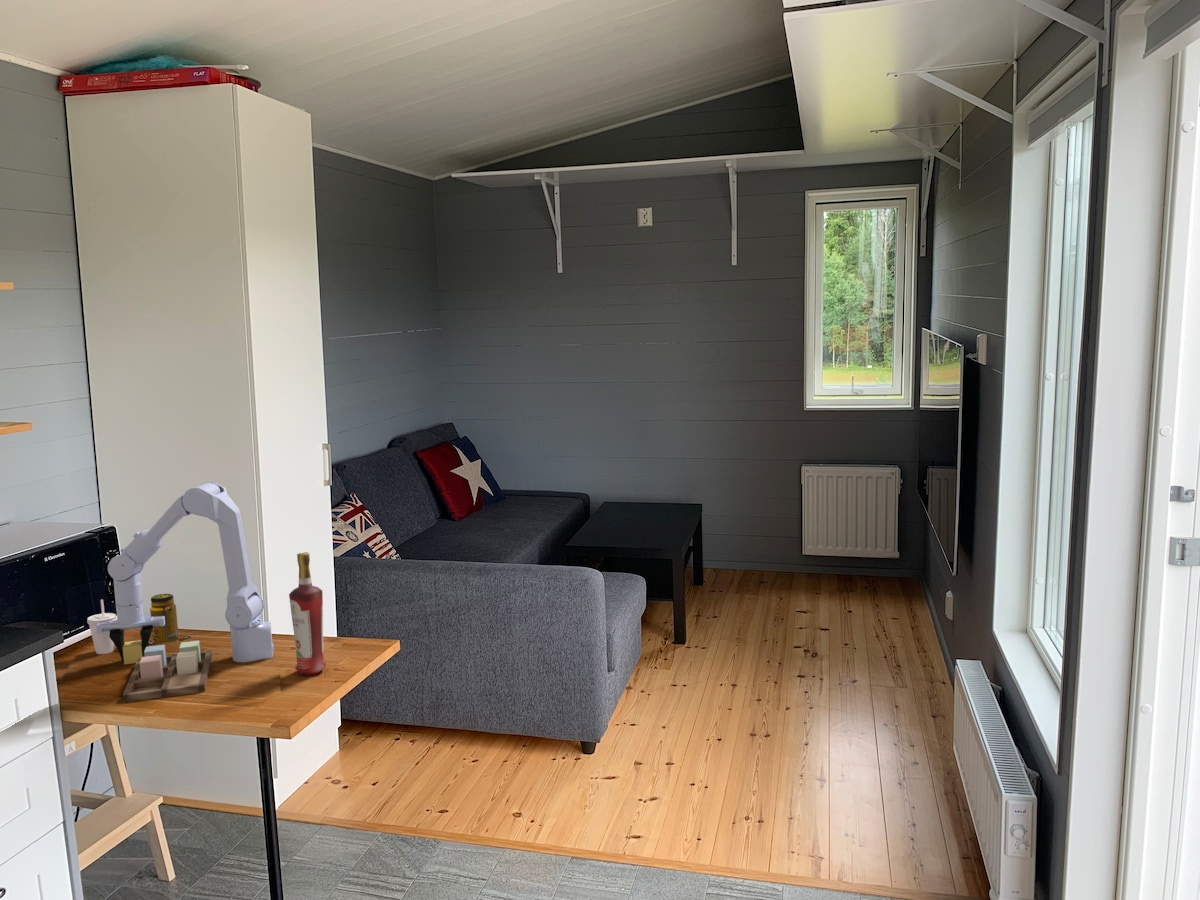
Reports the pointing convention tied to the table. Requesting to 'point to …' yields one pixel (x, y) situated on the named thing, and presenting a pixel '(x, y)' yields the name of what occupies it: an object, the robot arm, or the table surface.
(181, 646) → the sage block
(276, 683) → the table surface
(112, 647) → the smoothie
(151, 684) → the block tray
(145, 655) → the blue block
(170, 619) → the condiment
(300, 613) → the liquor
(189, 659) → the cream block
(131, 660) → the mustard block
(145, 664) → the rose block
